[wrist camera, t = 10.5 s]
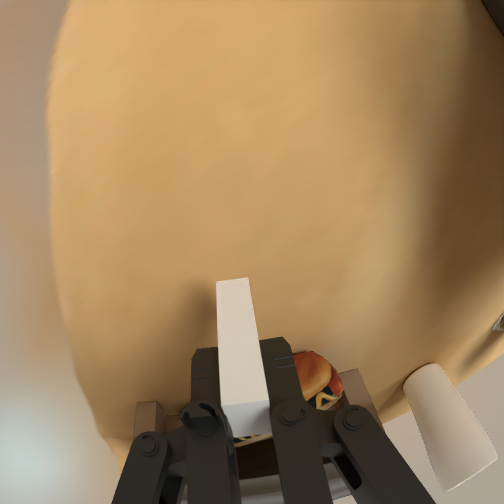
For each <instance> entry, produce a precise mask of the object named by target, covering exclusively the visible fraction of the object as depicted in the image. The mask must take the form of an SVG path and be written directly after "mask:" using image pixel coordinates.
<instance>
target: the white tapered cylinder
mask: <svg viewBox="0 0 504 504" xmlns="http://www.w3.org/2000/svg"><path fill="white" fill-rule="evenodd" d="M403 391H404V394H405V396H406V398H407V400H408V402H409V404H410V406H411V409H412V411H413V414H414V417H415V419H416V421H417V425H418V427H419V430H420V433H421V436H422V439H423V441H424V444H425V447H426V450H427V453H428V456H429V459H430V462H431V465H432V467H433V470H434V472H435V475H436V477H437V479H438V481H439V483H440V485H441V487H442V489H443V492H444V493H446V492H448V491H450V490H451V489H453V488H455V487H457V486H458V485H460V484H462V483H463V482H465V481H466V480H468V479H470V478H471V477H473V476H474V475H476V474H477V473H479V472H480V471H482V470H483V469H484V468H486V467H487V466H489V465H490V464H492V463H493V462H494V461H496V460H497V459H498V457H499V456H498V454H497V452H496V449H495V447H494V445H493V443H492V441H491V439H490V437H489V435H488V433H487V432H486V430H485V428H484V427H483V425H482V424H481V422H480V421H479V419H478V418H477V416H476V415H475V414H474V412H473V411H472V410H471V408H470V407H469V405H468V404H467V403H466V401H465V400H464V399H463V397H462V396H461V395H460V393H459V392H458V390H457V389H456V388H455V386H454V385H453V384H452V382H451V381H450V380H449V378H448V377H447V375H446V374H445V372H444V371H443V369H442V368H441V366H440V365H439V364H436V363H431V364H427V365H425V366H423V367H421V368H419V369H418V370H416V371H415V372H414V373H413V374H411V375H410V376H409V377H408V379H407V380H406V381H405V383H404V385H403Z"/></svg>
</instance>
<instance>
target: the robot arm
mask: <svg viewBox="0 0 504 504" xmlns="http://www.w3.org/2000/svg"><path fill="white" fill-rule="evenodd" d="M483 2H484V3H485V5H486V7H487V9H488V11H489V12H490V14H491V16H492V17H493V19H494V21H495V22H496V24H497V25H498V27H499V28H500V30H501V31H502V33H503V34H504V0H483ZM216 299H217V329H218V347H210V348H201V349H197V350H196V352H195V354H194V355H193V357H192V363H191V371H192V372H191V403H189V404H187V405H186V406H185V407H184V408H183V410H182V411H181V413H180V417H179V418H180V420H181V422H182V423H183V425H182V426H181V427H180V428H178V429H175V430H173V431H170V432H167V433H164V434H159V433H157V432H155V431H146V432H143V433H141V434H139V435H138V436H137V437H136V438H135V439H134V441H133V443H132V445H131V448H130V451H129V454H128V456H127V459H126V462H125V465H124V468H123V471H122V474H121V477H120V480H119V482H118V486H117V488H116V491H115V494H114V497H113V500H112V503H111V504H181V500H182V496H183V492H184V488H185V484H186V480H187V503H188V504H242V501H241V492H240V484H239V475H238V466H237V456H236V450H235V447H234V441H233V437H234V438H236V437H245V436H253V435H260V434H267V433H272V436H273V441H274V449H275V454H276V460H277V466H278V472H279V478H280V483H281V489H282V495H283V500H284V504H333V500H332V496H331V492H330V488H329V484H328V480H327V476H326V472H325V468H324V464H323V460H322V457H329V458H330V460H331V461H332V463H333V465H334V466H335V468H336V470H337V471H338V473H339V475H340V476H341V478H342V480H343V481H344V483H345V484H346V486H347V488H348V489H349V491H350V493H351V494H352V496H353V497H354V499H355V501H356V502H357V504H436V503H435V502H434V500H433V499H432V497H431V496H430V495H429V493H428V492H427V490H426V489H425V488H424V486H423V485H422V483H421V482H420V481H419V480H418V478H417V477H416V475H415V474H414V473H413V471H412V470H411V468H410V467H409V465H408V464H407V463H406V461H405V460H404V459H403V458H402V456H401V454H400V453H399V452H398V450H397V449H396V448H395V446H394V445H393V443H392V442H391V441H390V439H389V438H388V437H387V435H386V434H385V432H384V431H383V430H382V428H381V427H380V425H379V424H378V423H377V421H376V420H375V418H374V417H373V416H372V414H371V413H370V412H369V411H368V410H367V409H366V408H365V407H362V406H360V405H348V406H344V407H343V408H341V409H340V410H339V411H330V410H321V409H317V408H314V407H312V406H311V405H310V404H308V403H307V401H306V400H305V398H304V396H303V393H302V389H301V385H300V381H299V377H298V374H297V370H296V366H295V362H294V358H293V355H292V351H291V347H290V345H289V344H288V342H287V341H286V340H285V339H284V338H283V337H277V338H271V339H265V340H258V334H257V328H256V322H255V316H254V310H253V304H252V299H251V293H250V287H249V281H248V277H246V278H239V279H232V280H225V281H218V282H216Z"/></svg>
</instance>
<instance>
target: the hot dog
mask: <svg viewBox="0 0 504 504" xmlns="http://www.w3.org/2000/svg"><path fill="white" fill-rule="evenodd" d="M293 358H294V362H295V366H296V370H297V374H298V377H299V381H300V385H301V389H302V393H303V396H304V398H305V400H306V401H307V403H308V404H310V405H311V406H312V407H314V408H317V409H321V410H326V409H328V408H329V407H330V406H332V405H333V404H334V403H335V402H336V401H337V400H338V399H339V398H340V397H341V395H342V391H343V390H344V388H343V384H342V380H341V379H340V377H339V375H338V373H337V372H336V370H335V368H334V367H333V366H332V365H331V364H330V363H329V362H328V361H327V360H326V359H324V358H323V357H322V356H320V355H318V354H316V353H315V352H313V351H310V352H304V353H298V354H295V355H293ZM271 436H272V433H267V434H260V435H253V436H245V437H236V438H234V437H233V441H234V447H240V446H244V445H247V444H250V443H253V442H256V441H259V440H262V439H265V438H268V437H271Z"/></svg>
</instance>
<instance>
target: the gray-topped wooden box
mask: <svg viewBox="0 0 504 504" xmlns="http://www.w3.org/2000/svg"><path fill="white" fill-rule="evenodd" d="M338 375H339V377H340V379H341V380H342V384H343V388H344V390H343V391H342V395H341V397H340V398H339V399H338V400H337V401H336V402H335V403H334V404H333V405H332V406H330V407H329V408H328V409H326V410H330V411H339V410H340V409H341V408H343V407H344V406H348V405H360V406H362V407H365V408H366V409H367V410H368V411H369V412H370V413H371V414H372V416H373V417H374V418H375V420H376V421H377V423H378V424H379V425H380V427H381V428H382V430H383V431H384V428H383V426H382V424H381V421H380V419H379V417H378V414H377V412H376V410H375V407H374V405H373V403H372V400H371V398H370V396H369V394H368V391H367V389H366V387H365V385H364V382H363V380H362V378H361V376H360V374H359V371H358V369H355V370H351V371H347V372H343V373H340V374H338ZM179 417H180V415H179V416H166V415H165V414H164V412H163V411H162V409H161V408H160V406H159V405H158V403H157V402H137V407H136V417H135V427H134V438H133V441H134V439H135V438H136V437H137V436H138V435H139V434H141V433H143V432H146V431H155V432H157V433H159V434H164V433H167V432H170V431H173V430H175V429H178V428H180V427H181V426H182V425H183V423H182V422H181V420H180V418H179ZM384 432H385V431H384ZM385 434H386V433H385ZM235 450H236V456H237V466H238V475H239V484H240V492H241V501H242V504H284V500H283V495H282V489H281V483H280V478H279V472H278V466H277V460H276V454H275V449H274V441H273V436H271V437H268V438H265V439H262V440H259V441H256V442H253V443H250V444H247V445H244V446H240V447H235ZM322 460H323V464H324V468H325V472H326V476H327V480H328V484H329V488H330V492H331V496H332V500H335V499H339V498H342V497H345V496H349V495H352V494H351V493H350V491H349V489H348V488H347V486H346V484H345V483H344V481H343V480H342V478H341V476H340V475H339V473H338V471H337V470H336V468H335V466H334V465H333V463H332V461H331V460H330V458H329V457H322ZM181 504H188V503H187V480H186V484H185V488H184V492H183V496H182V500H181Z"/></svg>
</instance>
